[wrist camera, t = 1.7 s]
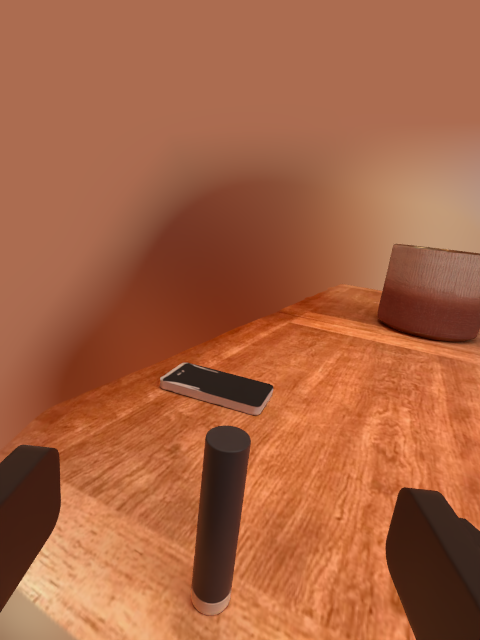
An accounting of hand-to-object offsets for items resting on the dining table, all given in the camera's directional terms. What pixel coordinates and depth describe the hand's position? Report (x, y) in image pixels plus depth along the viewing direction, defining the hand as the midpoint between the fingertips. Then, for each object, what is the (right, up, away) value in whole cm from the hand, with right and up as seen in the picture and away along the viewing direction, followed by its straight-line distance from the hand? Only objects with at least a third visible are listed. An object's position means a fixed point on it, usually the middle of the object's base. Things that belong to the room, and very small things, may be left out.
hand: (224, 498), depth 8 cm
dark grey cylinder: (-2, -14, +15) cm, 21 cm away
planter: (+52, +1, +93) cm, 107 cm away
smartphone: (-3, -6, +44) cm, 44 cm away
